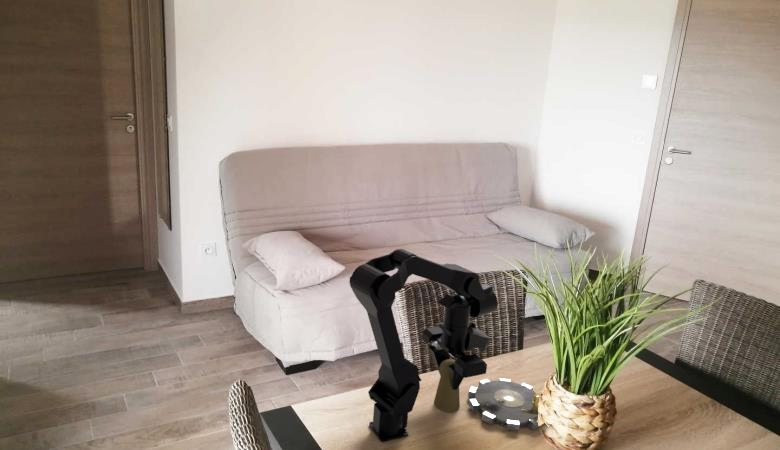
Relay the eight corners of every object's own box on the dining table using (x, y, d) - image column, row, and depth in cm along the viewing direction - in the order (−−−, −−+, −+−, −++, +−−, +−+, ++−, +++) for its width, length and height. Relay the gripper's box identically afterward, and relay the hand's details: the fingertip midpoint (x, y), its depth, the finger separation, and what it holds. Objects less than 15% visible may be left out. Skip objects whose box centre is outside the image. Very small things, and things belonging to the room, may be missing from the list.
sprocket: (524, 442, 123) (528, 418, 121) (452, 405, 134) (455, 382, 132) (562, 407, 136) (566, 385, 135) (494, 376, 148) (497, 355, 146)
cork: (458, 414, 131) (463, 371, 128) (432, 409, 132) (436, 366, 129) (460, 399, 137) (466, 358, 134) (435, 395, 138) (440, 353, 135)
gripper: (511, 335, 124) (502, 398, 129) (463, 300, 140) (457, 358, 145) (467, 342, 120) (459, 408, 124) (423, 306, 135) (417, 365, 140)
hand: (449, 383), depth 133 cm, fingers closed on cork, 5 cm apart
